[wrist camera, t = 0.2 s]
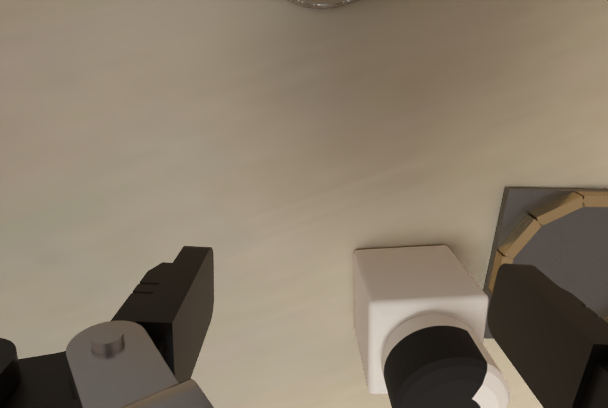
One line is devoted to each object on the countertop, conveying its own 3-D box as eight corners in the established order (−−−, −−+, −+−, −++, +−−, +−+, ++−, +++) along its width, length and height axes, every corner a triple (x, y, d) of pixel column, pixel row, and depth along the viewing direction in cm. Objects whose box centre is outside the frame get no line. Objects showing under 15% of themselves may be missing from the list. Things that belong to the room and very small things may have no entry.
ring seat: (504, 187, 29) (516, 194, 27) (676, 190, 29) (697, 197, 28) (474, 333, 33) (483, 346, 32) (624, 334, 34) (639, 347, 32)
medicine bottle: (353, 327, 33) (384, 470, 22) (352, 248, 30) (387, 363, 19) (441, 322, 33) (518, 462, 22) (448, 243, 30) (538, 354, 19)
